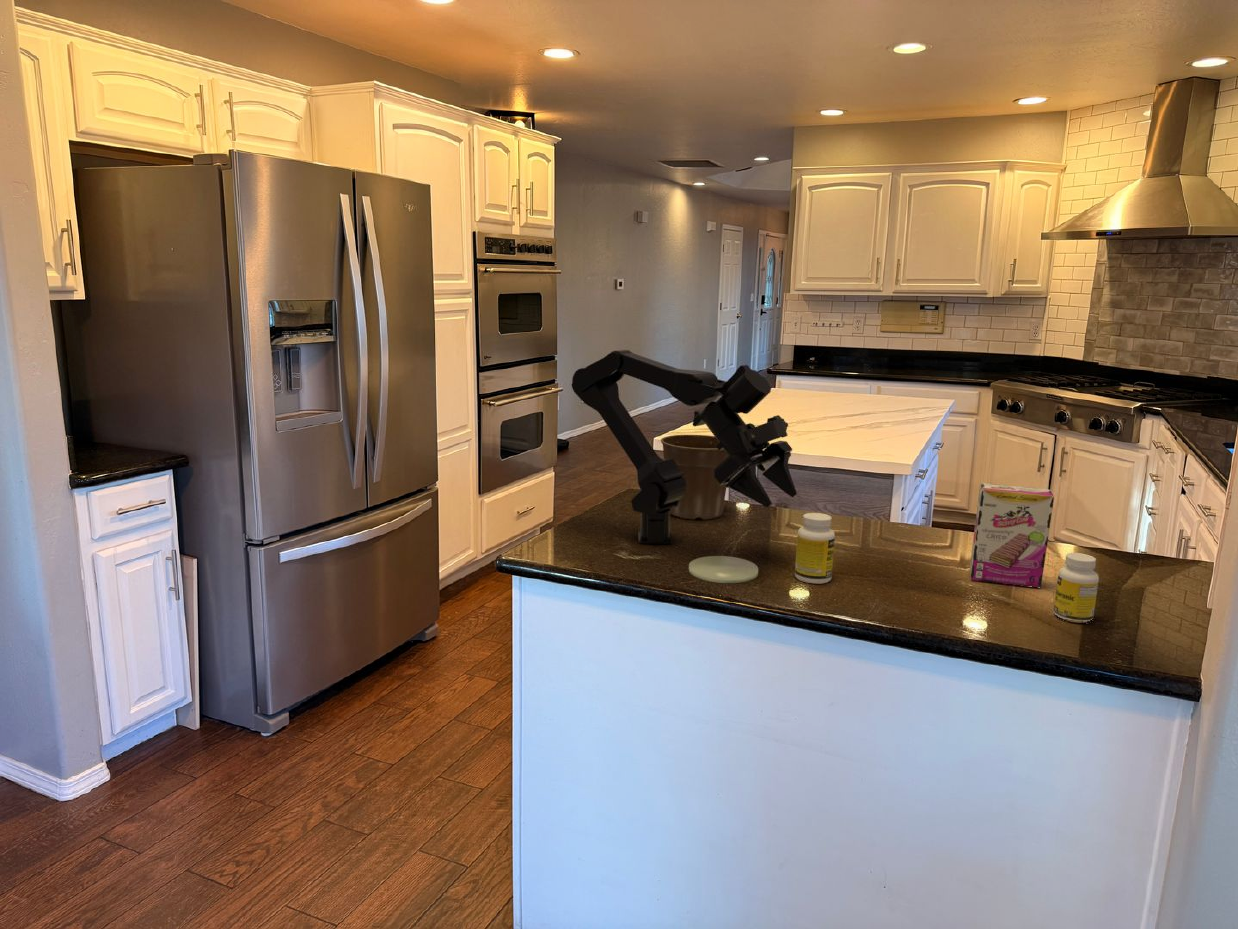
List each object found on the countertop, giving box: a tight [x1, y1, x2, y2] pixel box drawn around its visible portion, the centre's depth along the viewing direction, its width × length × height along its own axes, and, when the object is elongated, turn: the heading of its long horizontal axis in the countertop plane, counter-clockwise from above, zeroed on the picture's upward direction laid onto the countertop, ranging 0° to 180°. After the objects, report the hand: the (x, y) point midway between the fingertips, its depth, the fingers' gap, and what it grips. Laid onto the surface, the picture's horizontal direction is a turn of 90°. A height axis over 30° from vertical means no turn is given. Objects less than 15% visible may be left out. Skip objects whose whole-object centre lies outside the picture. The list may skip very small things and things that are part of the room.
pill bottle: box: [794, 512, 836, 585], centre depth 141 cm, size 6×6×11 cm
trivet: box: [688, 555, 759, 584], centre depth 145 cm, size 12×12×1 cm
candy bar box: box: [969, 482, 1055, 588], centre depth 141 cm, size 11×5×16 cm, turn 71°
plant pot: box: [660, 434, 729, 521], centre depth 181 cm, size 16×16×16 cm
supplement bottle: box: [1053, 552, 1100, 622], centre depth 126 cm, size 5×5×10 cm
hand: (782, 500), depth 144 cm, fingers open, 9 cm apart
